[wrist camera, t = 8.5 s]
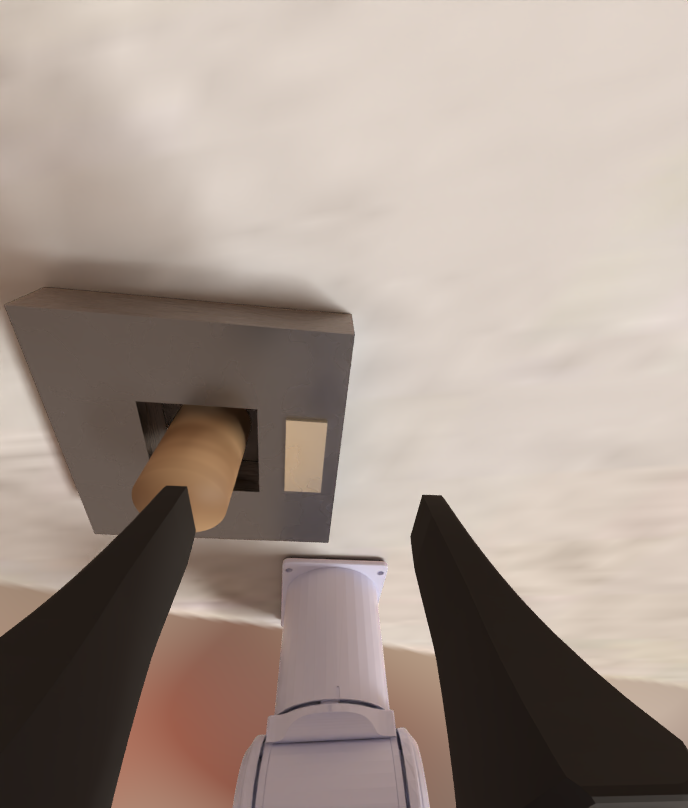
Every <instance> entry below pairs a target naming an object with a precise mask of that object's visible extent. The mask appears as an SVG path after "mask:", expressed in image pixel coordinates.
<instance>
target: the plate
mask: <svg viewBox="0 0 688 808" xmlns="http://www.w3.org/2000/svg"><path fill="white" fill-rule="evenodd" d="M4 306H5V308H6V311H7V313H8V316H9V318H10V321H11V323H12V326H13V328H14V331H15V334H16V336H17V339H18V341H19V344H20V346H21V349H22V351H23V354H24V356H25V359H26V361H27V364H28V366H29V369H30V371H31V374H32V376H33V379H34V381H35V384H36V387H37V389H38V392H39V394H40V397H41V399H42V402H43V404H44V407H45V409H46V412H47V414H48V417H49V419H50V422H51V424H52V427H53V429H54V432H55V435H56V437H57V440H58V442H59V445H60V447H61V450H62V452H63V455H64V457H65V460H66V462H67V465H68V467H69V470H70V472H71V475H72V477H73V480H74V482H75V485H76V488H77V490H78V493H79V495H80V498H81V500H82V503H83V505H84V508H85V510H86V513H87V515H88V518H89V520H90V523H91V525H92V528H93V530H94V533H95V534H112V535H119V534H120V533H121V532H122V531H123V530H124V529H125V528H126V527H127V526H128V525H129V524H130V523H131V522H132V521H133V520H134V519H135V517H136V516H137V515H138V514H139V512H138V510H137V509H136V507H135V505H134V504H133V500H132V489H133V486H134V484H135V482H136V481H137V479H138V477H139V476H140V474H141V472H142V471H143V469H144V467H145V466H146V464H147V462H148V461H149V459H150V458H151V456H152V454H153V453H154V451H155V449H156V448H157V446H158V444H159V443H160V441H161V439H162V438H163V436H164V434H165V433H166V431H167V429H166V424H165V418H164V413H163V408H162V403H170V404H185V405H200V406H215V407H230V408H245V409H257V420H258V457H259V462H257V461H241V464H240V468H239V471H238V475H237V478H236V481H235V485H234V488H233V492H232V495H231V498H230V502H229V505H228V509H227V512H226V515H225V517H224V519H223V520H222V521H221V522H220V523H219V524H218V525H216V526H215V527H213V528H211V529H208V530H205V531H201V532H196V533H195V537H194V538H218V539H244V540H270V541H297V542H323V543H328V541H329V533H330V525H331V517H332V510H333V502H334V494H335V486H336V478H337V470H338V462H339V454H340V446H341V438H342V431H343V423H344V415H345V407H346V399H347V391H348V383H349V375H350V367H351V359H352V351H353V344H354V336H355V334H354V327H353V320H352V314H341V313H330V312H319V311H308V310H296V309H285V308H274V307H263V306H252V305H240V304H229V303H218V302H207V301H196V300H184V299H173V298H162V297H151V296H140V295H129V294H117V293H106V292H95V291H84V290H73V289H61V288H50V287H43V288H41V289H39V290H37V291H34V292H32V293H30V294H27V295H25V296H23V297H21V298H18V299H16V300H14V301H12V302H9V303H7V304H5V305H4Z"/></svg>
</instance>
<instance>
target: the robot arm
mask: <svg viewBox="0 0 688 808" xmlns="http://www.w3.org/2000/svg"><path fill="white" fill-rule="evenodd" d="M195 533H196V528H195V524H194V519H193V514H192V509H191V504H190V499H189V494H188V489H187V486H165V487H164V488H163V489H162V490H161V491H160V492H159V493H158V494H157V495H156V496H155V497H154V498H153V499H152V500H151V502H150V503H149V504H148V505H147V506H146V507H145V508H144V509H143V510H142V511H141V512H140V513H139V514H138V515H137V516H136V517H135V519H134V520H133V521H132V522H131V523H130V524H129V525H128V526H127V527H126V528H125V529H124V530H123V531H122V532H121V533H120V534H119V535H118V536H117V537H116V538H115V539H114V540H113V541H112V542H111V543H110V544H109V545H108V546H107V547H106V548H105V549H104V550H103V551H102V552H101V553H100V554H99V555H98V556H96V557H95V558H94V559H93V560H92V561H91V562H90V563H89V564H88V565H87V566H86V567H85V568H84V569H82V570H81V571H80V572H79V573H78V574H77V575H76V576H75V577H74V578H73V579H72V580H70V581H69V582H68V583H67V584H66V585H65V586H64V587H62V588H61V589H60V590H59V591H58V592H57V593H55V594H54V595H53V596H52V597H51V598H49V599H48V600H47V601H46V602H45V603H43V604H42V605H41V606H40V607H38V608H37V609H36V610H35V611H34V612H32V613H31V614H30V615H28V616H27V617H26V618H25V619H23V620H22V621H21V622H19V623H18V624H17V625H16V626H14V627H13V628H12V629H10V630H9V631H8V632H6V633H5V634H4V635H3V636H1V637H0V808H111V805H112V801H113V797H114V793H115V788H116V785H117V781H118V777H119V773H120V769H121V765H122V761H123V758H124V753H125V750H126V746H127V742H128V738H129V735H130V731H131V727H132V724H133V720H134V717H135V713H136V709H137V706H138V702H139V698H140V695H141V691H142V688H143V685H144V681H145V678H146V675H147V671H148V668H149V664H150V661H151V657H152V655H153V652H154V649H155V647H156V643H157V641H158V638H159V636H160V633H161V630H162V628H163V625H164V623H165V620H166V618H167V615H168V613H169V610H170V608H171V605H172V603H173V600H174V597H175V595H176V592H177V590H178V587H179V585H180V582H181V579H182V577H183V574H184V572H185V569H186V566H187V563H188V560H189V556H190V552H191V549H192V545H193V541H194V537H195ZM411 545H412V554H413V561H414V568H415V573H416V577H417V581H418V585H419V589H420V593H421V598H422V602H423V606H424V610H425V614H426V618H427V622H428V626H429V630H430V634H431V638H432V642H433V646H434V651H435V656H436V660H437V666H438V673H439V679H440V685H441V692H442V698H443V705H444V712H445V719H446V726H447V733H448V740H449V748H450V756H451V765H452V772H453V781H454V788H455V789H454V790H455V799H456V808H688V749H687V748H686V746H685V745H684V743H683V741H681V740H680V739H679V738H677V737H676V736H675V735H674V734H672V733H671V732H670V731H668V730H667V729H666V728H665V727H663V726H662V725H661V724H659V723H658V722H657V721H656V720H654V719H653V718H652V717H651V716H649V715H648V714H647V713H645V712H644V711H643V710H641V709H640V708H639V707H638V706H636V705H635V704H634V703H633V702H631V701H630V700H629V699H627V698H626V697H625V696H624V695H623V694H622V693H620V692H619V691H618V690H617V689H616V688H615V687H613V686H612V685H611V684H610V683H608V682H607V681H606V680H605V679H604V678H603V677H602V676H600V675H599V674H598V673H597V672H596V671H595V670H593V669H592V668H591V667H590V666H589V665H588V664H587V663H586V662H585V661H584V660H583V659H581V658H580V657H579V656H578V655H577V654H576V653H575V652H574V651H573V650H572V649H571V648H570V647H568V646H567V645H566V644H565V643H564V642H563V641H562V640H561V639H560V638H559V637H558V636H557V635H556V634H555V633H554V632H553V631H552V630H551V629H550V628H549V627H548V626H547V625H546V624H545V623H544V622H543V621H542V620H541V619H540V618H539V617H538V616H537V615H536V614H535V613H534V612H533V611H532V610H531V609H530V608H529V607H528V606H527V605H526V604H525V602H524V601H523V600H522V599H521V598H520V597H519V596H518V595H517V593H516V592H515V591H514V590H513V589H512V588H511V587H510V585H509V584H508V583H507V582H506V581H505V580H504V578H503V577H502V576H501V575H500V574H499V572H498V571H497V570H496V569H495V567H494V566H493V565H492V564H491V562H490V561H489V560H488V559H487V557H486V556H485V555H484V553H483V552H482V551H481V550H480V548H479V547H478V546H477V544H476V543H475V542H474V540H473V539H472V538H471V536H470V535H469V534H468V532H467V531H466V529H465V528H464V527H463V525H462V524H461V522H460V521H459V519H458V518H457V517H456V515H455V514H454V512H453V511H452V509H451V508H450V506H449V505H448V504H447V502H446V501H445V499H444V498H443V497H442V496H441V495H422V498H421V502H420V505H419V509H418V512H417V516H416V519H415V523H414V526H413V530H412V533H411ZM387 570H388V565H387V563H386V562H384V561H363V560H334V559H305V558H286V559H284V560H283V564H282V601H281V626H282V627H283V635H282V645H281V656H280V666H279V677H278V687H277V696H276V706H275V715H274V716H269V717H268V723H267V732H266V735H258V736H257V737H256V738H255V739H254V741H253V743H252V745H251V746H250V747H249V748H248V750H247V751H246V753H245V755H244V757H243V760H242V764H241V767H240V771H239V775H238V780H237V786H236V791H235V797H234V804H233V808H430V806H429V799H428V793H427V786H426V780H425V774H424V769H423V764H422V760H421V755H420V751H419V748H418V745H417V743H416V741H415V740H414V739H413V737H412V736H411V735H410V734H409V733H408V731H407V729H406V728H397V729H396V727H395V718H394V711H393V710H389V701H388V691H387V683H386V673H385V664H384V655H383V646H382V637H381V628H380V618H379V609H378V603H379V599H380V596H381V592H382V588H383V585H384V581H385V578H386V574H387Z"/></svg>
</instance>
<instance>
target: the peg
mask: <svg viewBox="0 0 688 808" xmlns="http://www.w3.org/2000/svg"><path fill="white" fill-rule="evenodd" d="M250 430H251V420H250V417H249V414H248V413H247V411H246V409H245V408H230V407H215V406H200V405H185V404H182V406H181V408H180V409H179V411H178V413H177V414H176V416H175V418H174V419H173V421H172V423H171V424H170V426H169V428H168V429H167V431H166V433H165V434H164V436H163V438H162V439H161V441H160V443H159V444H158V446H157V448H156V449H155V451H154V453H153V454H152V456H151V458H150V459H149V461H148V462H147V464H146V466H145V467H144V469H143V471H142V472H141V474H140V476H139V477H138V479H137V481H136V482H135V484H134V486H133V489H132V500H133V504H134V505H135V507H136V509H137V510H138V512H139V513H140V512H141V511H142V510H143V509H144V508H145V507H146V506H147V505H148V504H149V503H150V502H151V500H152V499H153V498H154V497H155V496H156V495H157V494H158V493H159V492H160V491H161V490H162V489H163V488H164V487H165V486H187V489H188V494H189V499H190V504H191V509H192V514H193V519H194V524H195V528H196V532H201V531H205V530H208V529H211V528H213V527H215V526H216V525H218V524H219V523H220V522H221V521H222V520H223V519H224V517H225V515H226V512H227V509H228V505H229V502H230V498H231V495H232V492H233V488H234V485H235V481H236V478H237V475H238V471H239V468H240V464H241V461H242V458H243V454H244V451H245V447H246V444H247V440H248V437H249V434H250Z"/></svg>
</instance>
